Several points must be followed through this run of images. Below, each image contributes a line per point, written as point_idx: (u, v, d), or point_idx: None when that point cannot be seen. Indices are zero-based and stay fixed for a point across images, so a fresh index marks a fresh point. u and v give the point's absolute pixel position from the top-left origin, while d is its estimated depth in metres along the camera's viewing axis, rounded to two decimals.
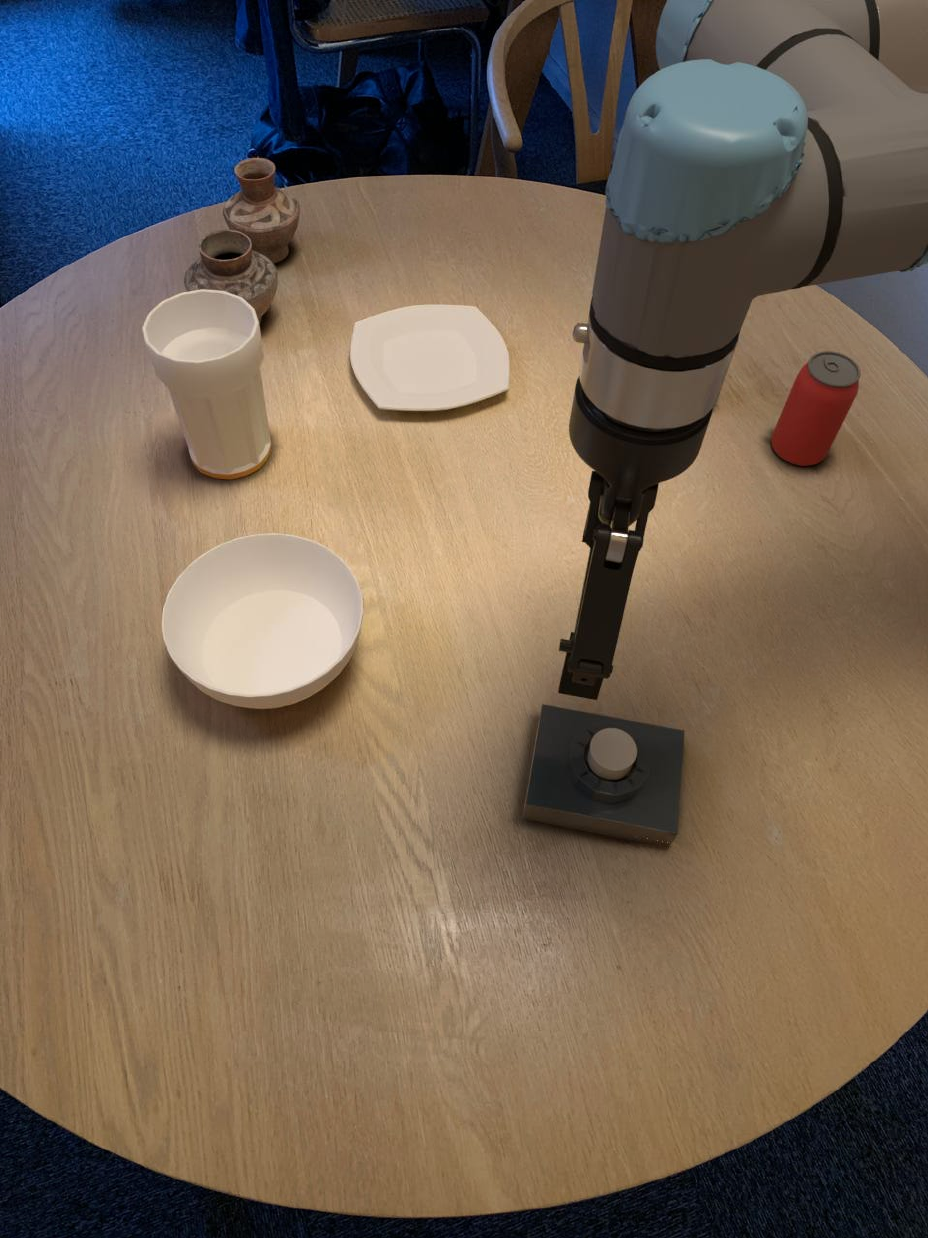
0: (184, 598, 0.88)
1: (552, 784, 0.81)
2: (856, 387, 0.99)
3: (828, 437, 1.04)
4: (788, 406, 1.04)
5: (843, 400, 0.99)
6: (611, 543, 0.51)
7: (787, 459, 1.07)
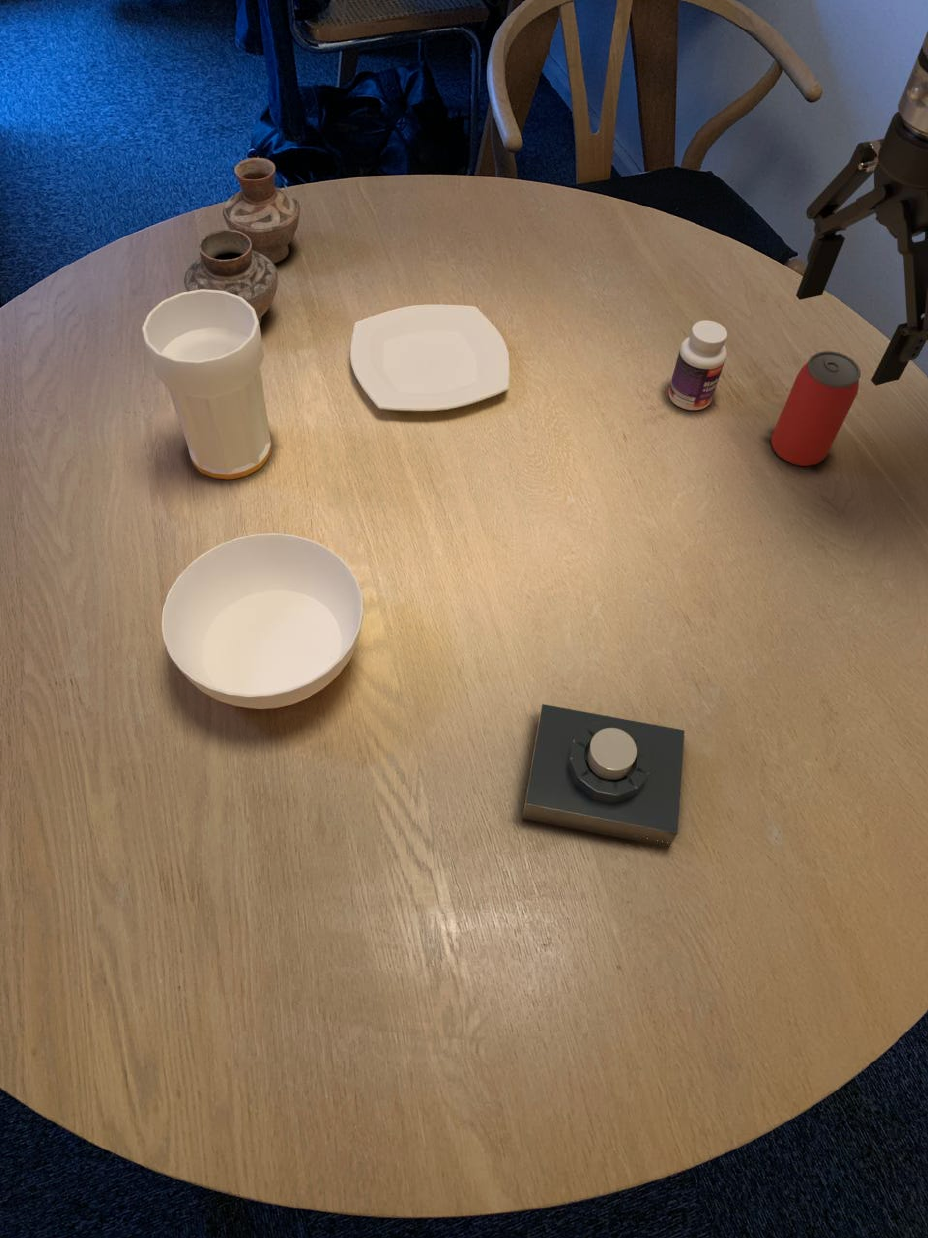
0: (184, 598, 0.88)
1: (552, 784, 0.81)
2: (855, 387, 0.99)
3: (828, 437, 1.04)
4: (788, 406, 1.04)
5: (843, 400, 0.99)
6: None
7: (787, 459, 1.07)
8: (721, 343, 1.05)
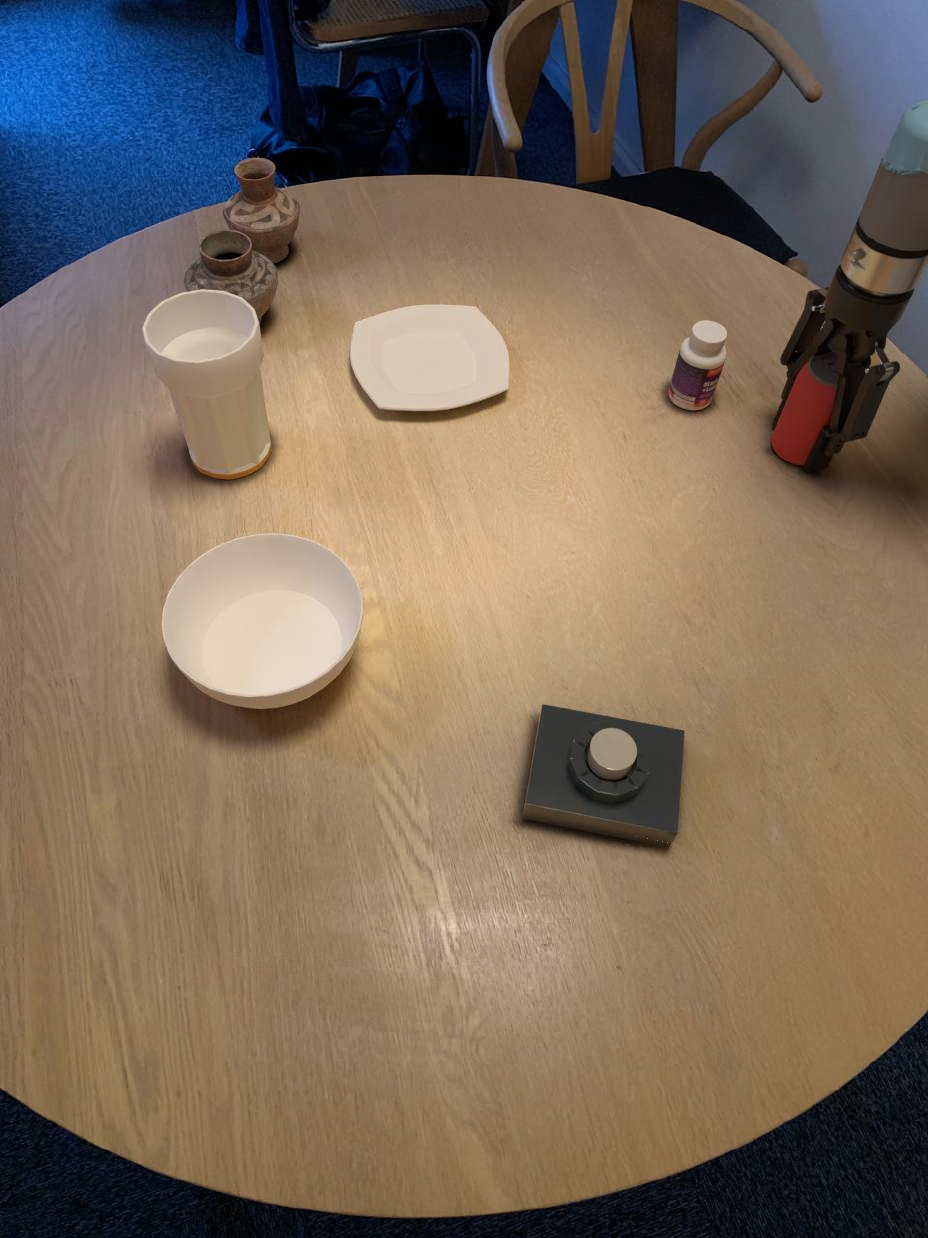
0: (184, 598, 0.88)
1: (552, 784, 0.81)
2: None
3: None
4: (788, 406, 1.04)
5: None
6: (885, 374, 0.92)
7: (787, 459, 1.07)
8: (721, 343, 1.05)
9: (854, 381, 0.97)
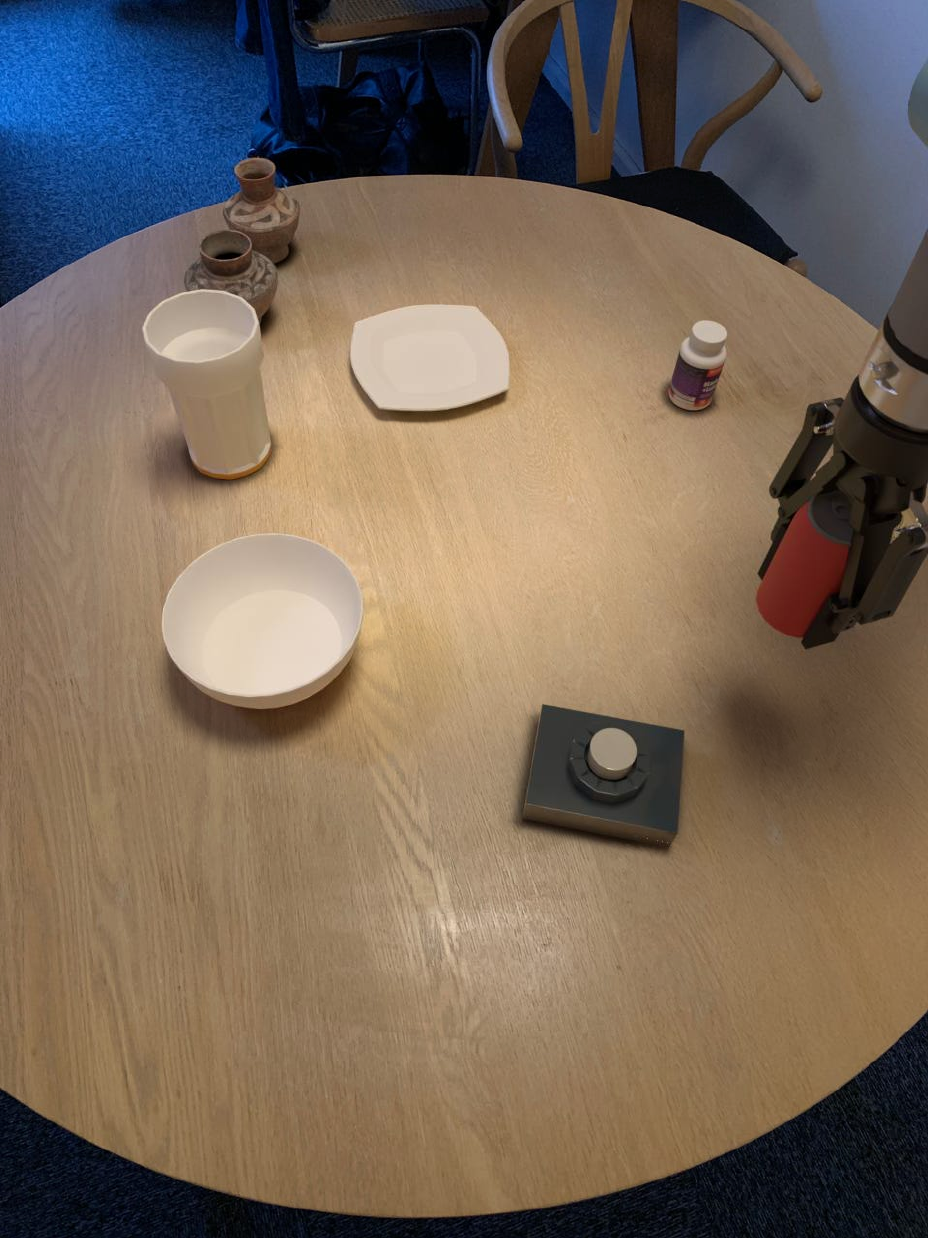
0: (184, 598, 0.88)
1: (552, 784, 0.81)
2: None
3: None
4: (779, 561, 0.72)
5: None
6: (925, 542, 0.60)
7: (778, 629, 0.76)
8: (721, 343, 1.05)
9: (876, 540, 0.66)
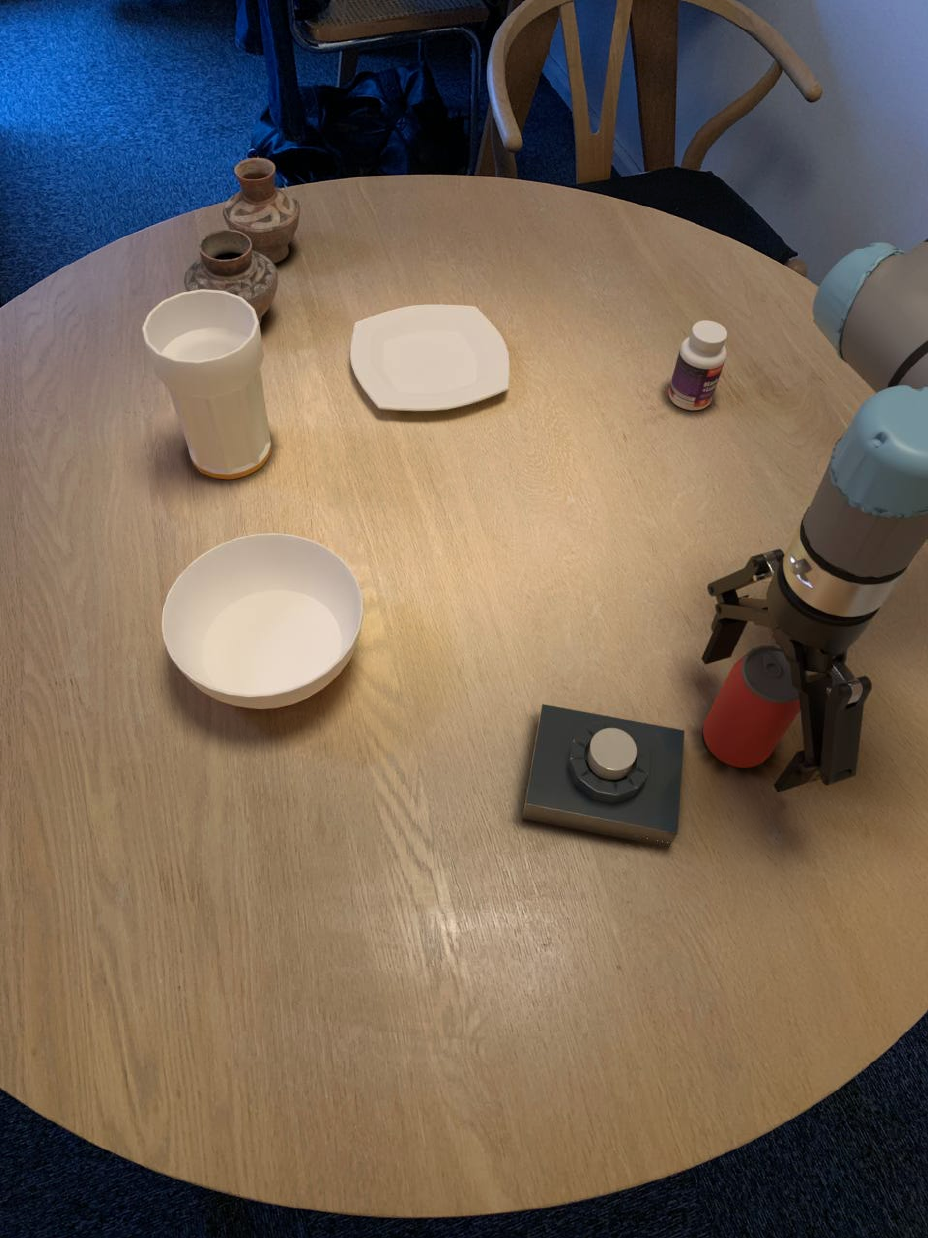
0: (184, 598, 0.88)
1: (552, 784, 0.81)
2: None
3: (771, 744, 0.82)
4: (720, 705, 0.82)
5: (787, 715, 0.77)
6: (853, 694, 0.68)
7: (721, 760, 0.85)
8: (721, 343, 1.05)
9: (821, 697, 0.72)
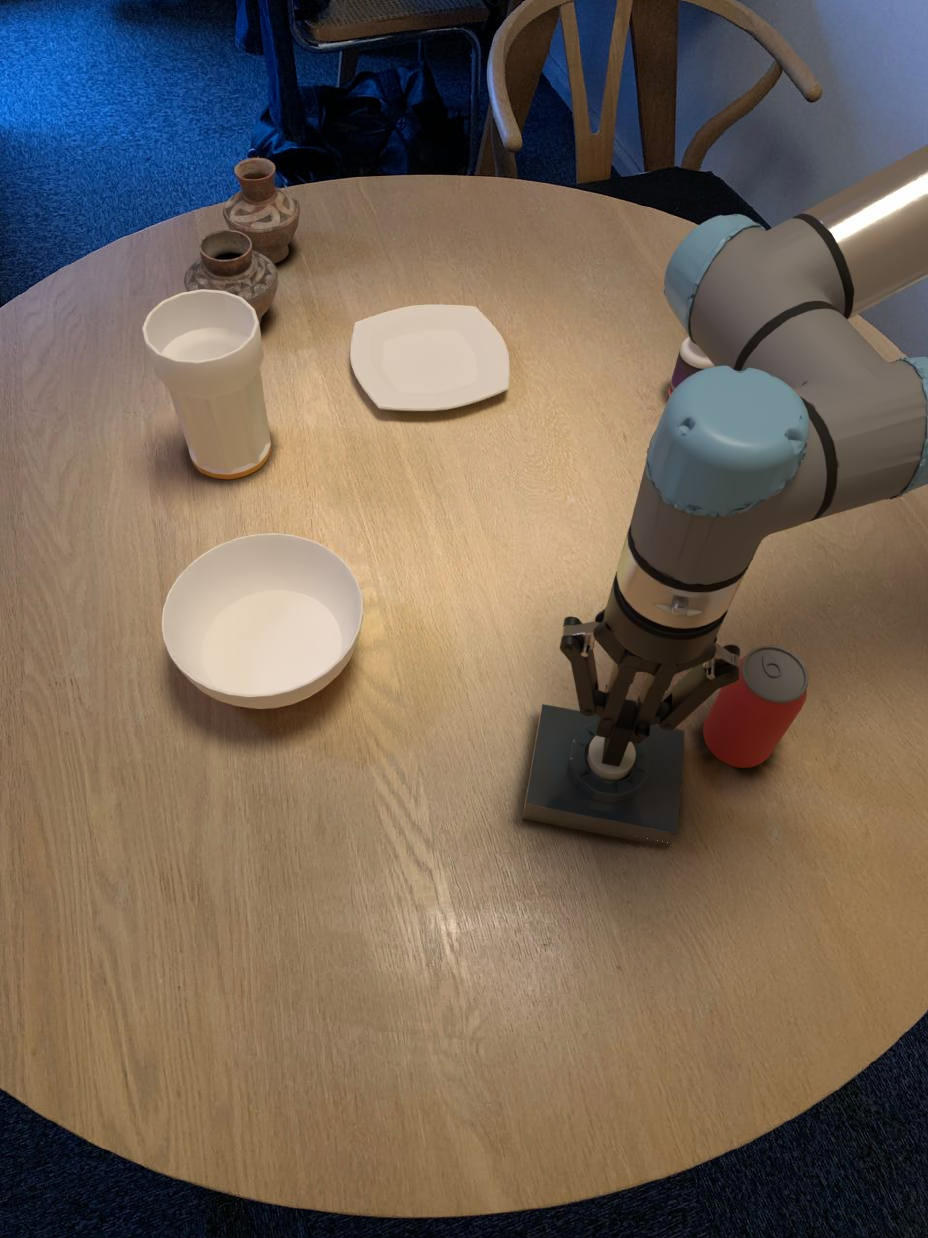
0: (184, 598, 0.88)
1: (552, 784, 0.81)
2: (802, 698, 0.77)
3: (771, 744, 0.82)
4: (720, 705, 0.82)
5: (787, 715, 0.77)
6: None
7: (721, 760, 0.85)
8: None
9: None
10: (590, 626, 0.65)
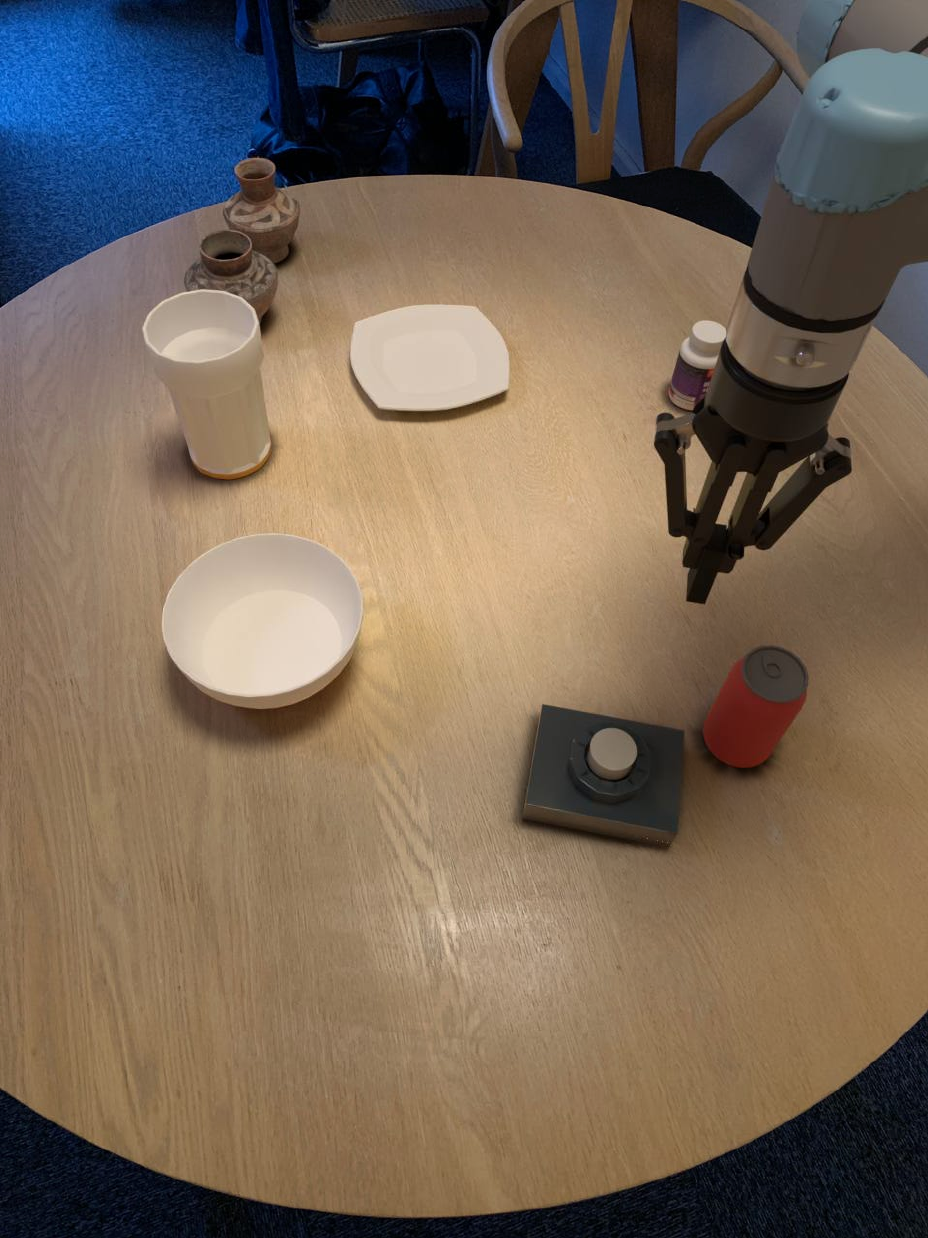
0: (184, 598, 0.88)
1: (552, 784, 0.81)
2: (802, 698, 0.77)
3: (771, 744, 0.82)
4: (720, 705, 0.82)
5: (787, 715, 0.77)
6: None
7: (721, 760, 0.85)
8: (721, 343, 1.05)
9: None
10: (688, 418, 0.60)
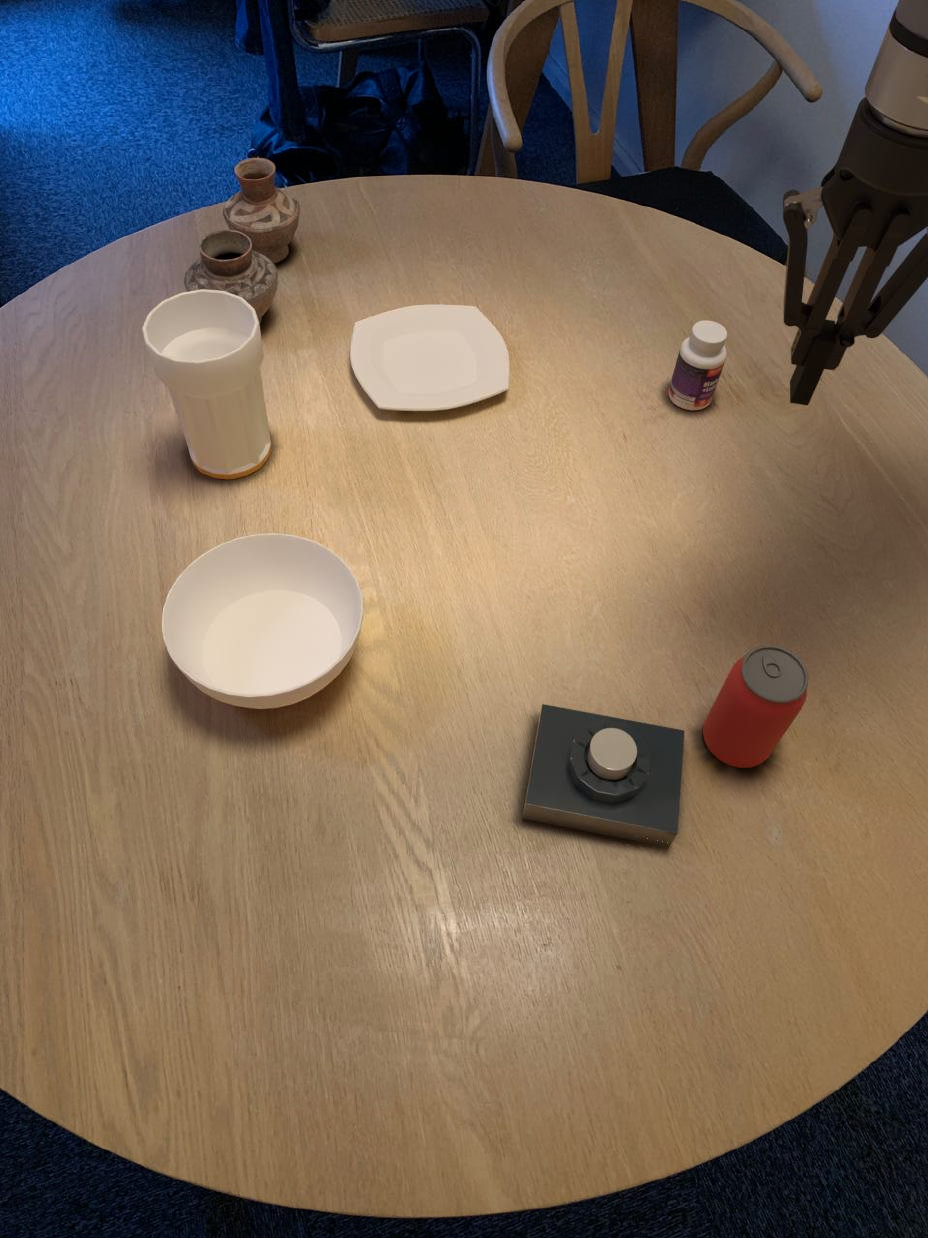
0: (184, 598, 0.88)
1: (552, 784, 0.81)
2: (802, 698, 0.77)
3: (771, 744, 0.82)
4: (720, 705, 0.82)
5: (787, 715, 0.77)
6: None
7: (721, 760, 0.85)
8: (721, 343, 1.05)
9: None
10: (816, 190, 0.65)
